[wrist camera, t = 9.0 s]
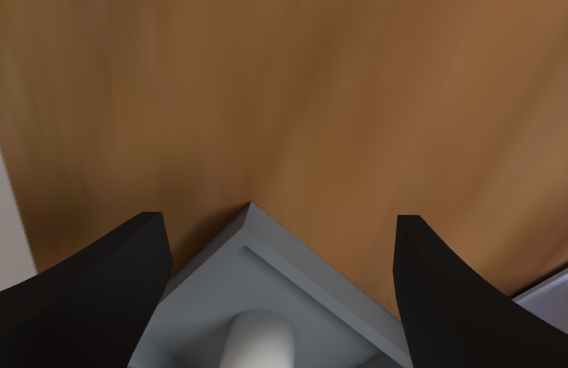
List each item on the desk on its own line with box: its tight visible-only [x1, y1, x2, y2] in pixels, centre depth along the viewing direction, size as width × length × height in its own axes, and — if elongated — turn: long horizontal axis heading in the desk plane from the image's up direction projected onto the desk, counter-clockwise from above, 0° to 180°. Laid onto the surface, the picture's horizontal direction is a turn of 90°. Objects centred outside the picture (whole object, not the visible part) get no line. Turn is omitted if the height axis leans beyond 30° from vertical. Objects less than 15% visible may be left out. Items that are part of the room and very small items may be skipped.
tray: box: [128, 201, 413, 368], centre depth 27 cm, size 14×14×2 cm
